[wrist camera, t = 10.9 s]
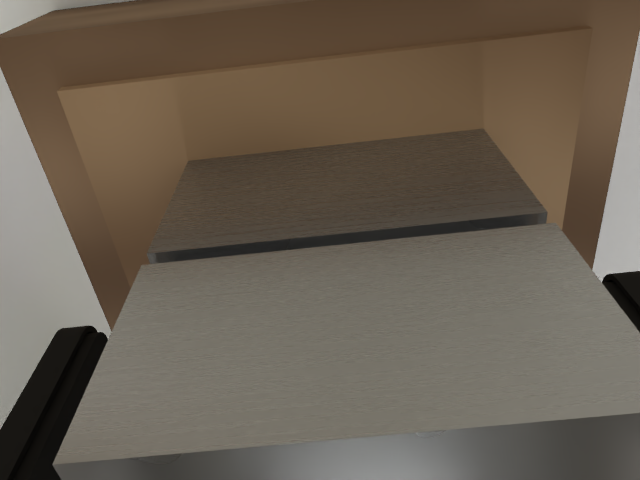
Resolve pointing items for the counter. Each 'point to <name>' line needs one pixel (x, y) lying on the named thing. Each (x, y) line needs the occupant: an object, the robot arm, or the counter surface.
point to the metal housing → (362, 329)
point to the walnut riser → (310, 98)
